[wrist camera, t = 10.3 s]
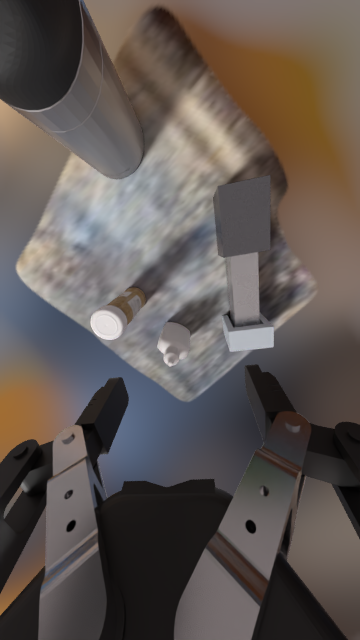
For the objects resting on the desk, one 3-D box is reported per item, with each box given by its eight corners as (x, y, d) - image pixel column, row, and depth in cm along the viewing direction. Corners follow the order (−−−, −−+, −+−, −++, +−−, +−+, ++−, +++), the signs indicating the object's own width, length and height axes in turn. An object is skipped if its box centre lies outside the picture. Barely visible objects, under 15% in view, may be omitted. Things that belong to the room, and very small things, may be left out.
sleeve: (213, 197, 31) (217, 186, 25) (254, 189, 30) (270, 175, 24) (218, 254, 34) (223, 257, 28) (255, 248, 33) (270, 249, 27)
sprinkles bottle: (126, 283, 37) (91, 304, 25) (149, 291, 37) (126, 316, 25) (121, 305, 39) (86, 334, 26) (143, 312, 39) (119, 345, 27)
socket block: (222, 315, 38) (228, 332, 31) (258, 310, 37) (273, 326, 30) (223, 332, 39) (230, 351, 33) (259, 328, 39) (273, 347, 32)
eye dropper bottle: (176, 345, 41) (170, 383, 30) (160, 326, 40) (147, 358, 29) (193, 335, 40) (193, 370, 29) (176, 314, 39) (169, 343, 28)
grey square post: (224, 240, 33) (229, 239, 28) (248, 235, 32) (257, 234, 28) (231, 325, 38) (236, 337, 34) (251, 323, 38) (259, 334, 33)
